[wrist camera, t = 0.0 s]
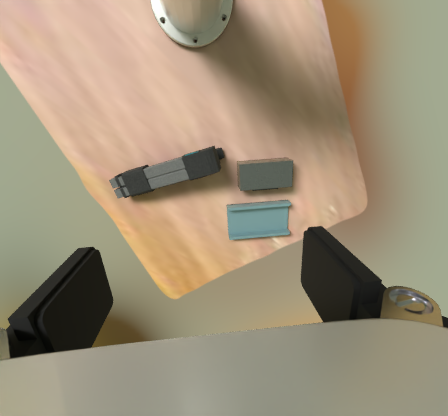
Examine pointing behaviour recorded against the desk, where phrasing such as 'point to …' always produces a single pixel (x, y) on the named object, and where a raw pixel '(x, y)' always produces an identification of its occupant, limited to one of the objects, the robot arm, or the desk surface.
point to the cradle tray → (258, 219)
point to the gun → (168, 172)
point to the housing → (264, 174)
